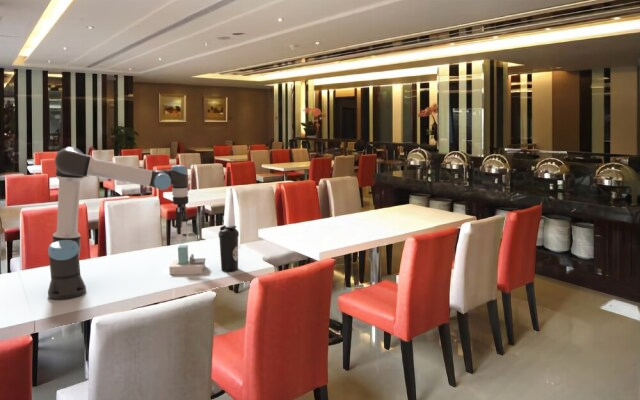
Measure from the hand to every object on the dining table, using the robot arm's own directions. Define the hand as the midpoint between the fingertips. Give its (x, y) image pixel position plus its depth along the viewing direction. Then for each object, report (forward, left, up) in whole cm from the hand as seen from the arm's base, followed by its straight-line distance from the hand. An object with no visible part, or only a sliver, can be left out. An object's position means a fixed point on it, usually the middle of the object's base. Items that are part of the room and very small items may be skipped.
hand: (182, 237), depth 248 cm
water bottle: (+21, -11, -18) cm, 30 cm away
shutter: (+7, -3, -13) cm, 15 cm away
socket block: (+2, -1, -18) cm, 18 cm away
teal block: (0, 0, -17) cm, 17 cm away
